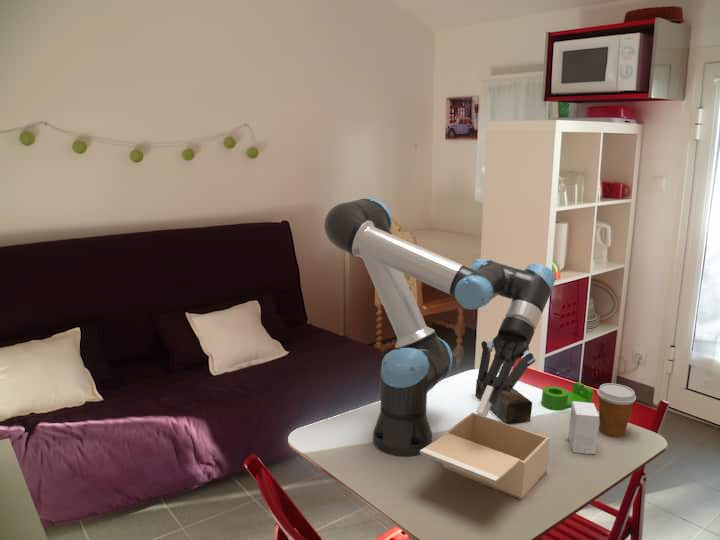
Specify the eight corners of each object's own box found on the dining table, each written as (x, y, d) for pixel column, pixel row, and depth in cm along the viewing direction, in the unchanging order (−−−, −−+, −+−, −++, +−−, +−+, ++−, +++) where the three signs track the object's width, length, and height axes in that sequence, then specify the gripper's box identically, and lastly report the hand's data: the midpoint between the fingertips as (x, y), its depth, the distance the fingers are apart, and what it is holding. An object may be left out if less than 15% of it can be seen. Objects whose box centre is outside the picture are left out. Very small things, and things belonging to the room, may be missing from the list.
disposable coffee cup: (632, 442, 156) (638, 400, 154) (593, 436, 159) (598, 394, 157) (630, 426, 165) (635, 385, 162) (593, 420, 168) (597, 380, 165)
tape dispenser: (552, 413, 173) (554, 398, 172) (536, 403, 179) (537, 388, 178) (592, 404, 179) (594, 389, 178) (575, 394, 185) (576, 380, 184)
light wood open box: (442, 467, 144) (444, 433, 142) (470, 444, 154) (472, 412, 152) (521, 500, 132) (524, 463, 130) (546, 472, 142) (549, 437, 140)
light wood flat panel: (447, 435, 141) (419, 453, 131) (447, 432, 141) (419, 450, 131) (520, 462, 130) (495, 483, 121) (520, 459, 130) (495, 480, 121)
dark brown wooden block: (497, 393, 185) (499, 373, 183) (532, 422, 167) (534, 400, 166) (474, 396, 183) (475, 376, 181) (506, 426, 165) (508, 404, 163)
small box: (595, 455, 150) (600, 416, 148) (572, 452, 151) (576, 414, 149) (590, 439, 158) (594, 402, 155) (568, 437, 159) (571, 400, 156)
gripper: (550, 338, 140) (512, 430, 131) (498, 326, 148) (460, 412, 139) (542, 321, 134) (503, 417, 126) (489, 310, 142) (449, 398, 134)
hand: (480, 414), depth 132 cm, fingers closed
